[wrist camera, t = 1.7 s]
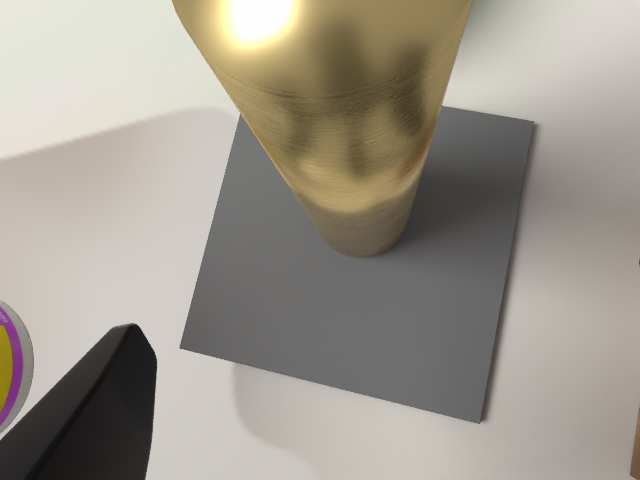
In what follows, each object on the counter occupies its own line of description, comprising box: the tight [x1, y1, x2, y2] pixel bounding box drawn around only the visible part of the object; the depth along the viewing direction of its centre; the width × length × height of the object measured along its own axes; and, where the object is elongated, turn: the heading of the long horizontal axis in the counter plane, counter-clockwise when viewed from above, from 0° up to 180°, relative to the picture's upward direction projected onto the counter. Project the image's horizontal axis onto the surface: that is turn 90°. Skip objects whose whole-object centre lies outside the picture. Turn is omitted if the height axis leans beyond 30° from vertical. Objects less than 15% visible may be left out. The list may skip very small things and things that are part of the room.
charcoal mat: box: [180, 106, 534, 424], centre depth 21 cm, size 12×12×1 cm
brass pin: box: [172, 0, 472, 258], centre depth 13 cm, size 4×4×15 cm
